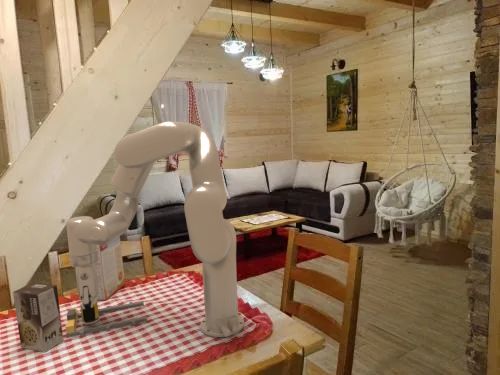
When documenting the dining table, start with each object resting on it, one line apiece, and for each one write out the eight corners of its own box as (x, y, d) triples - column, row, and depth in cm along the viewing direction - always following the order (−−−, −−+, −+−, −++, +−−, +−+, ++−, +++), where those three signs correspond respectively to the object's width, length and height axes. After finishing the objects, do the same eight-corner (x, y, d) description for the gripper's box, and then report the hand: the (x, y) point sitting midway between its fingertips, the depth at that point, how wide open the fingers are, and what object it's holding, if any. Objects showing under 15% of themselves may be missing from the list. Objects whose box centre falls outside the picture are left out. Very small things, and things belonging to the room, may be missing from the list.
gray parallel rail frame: (147, 322, 110) (147, 319, 110) (66, 339, 103) (66, 336, 103) (143, 302, 124) (143, 299, 124) (71, 316, 117) (71, 313, 117)
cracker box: (110, 284, 141) (105, 231, 138) (125, 284, 140) (120, 231, 138) (90, 300, 128) (84, 242, 125) (106, 301, 127) (100, 242, 124)
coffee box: (64, 339, 103) (58, 284, 101) (45, 353, 97) (37, 294, 95) (39, 335, 106) (33, 281, 104) (19, 347, 100) (11, 291, 98)
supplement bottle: (102, 318, 113) (99, 292, 112) (90, 326, 109) (87, 299, 108) (91, 316, 115) (88, 290, 114) (78, 323, 111) (75, 296, 110)
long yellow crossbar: (74, 335, 105) (73, 320, 104) (66, 336, 104) (65, 322, 104) (78, 316, 116) (76, 303, 115) (71, 318, 115) (69, 304, 115)
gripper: (96, 265, 103) (102, 326, 105) (98, 248, 118) (103, 302, 121) (67, 269, 100) (74, 332, 102) (72, 252, 116) (78, 307, 118)
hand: (90, 315), depth 112 cm, fingers closed on supplement bottle, 4 cm apart
